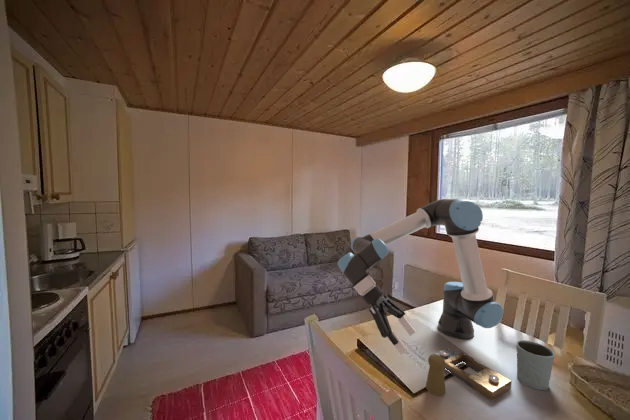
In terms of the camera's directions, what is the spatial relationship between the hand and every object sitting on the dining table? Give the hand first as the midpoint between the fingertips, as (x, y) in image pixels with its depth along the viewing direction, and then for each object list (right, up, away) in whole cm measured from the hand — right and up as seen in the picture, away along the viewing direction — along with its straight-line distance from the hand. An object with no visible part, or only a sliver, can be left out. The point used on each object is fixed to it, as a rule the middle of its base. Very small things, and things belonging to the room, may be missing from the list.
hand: (409, 342), depth 91 cm
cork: (+8, -14, -4) cm, 16 cm away
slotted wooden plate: (+23, -14, +4) cm, 27 cm away
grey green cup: (+44, -14, +1) cm, 46 cm away
